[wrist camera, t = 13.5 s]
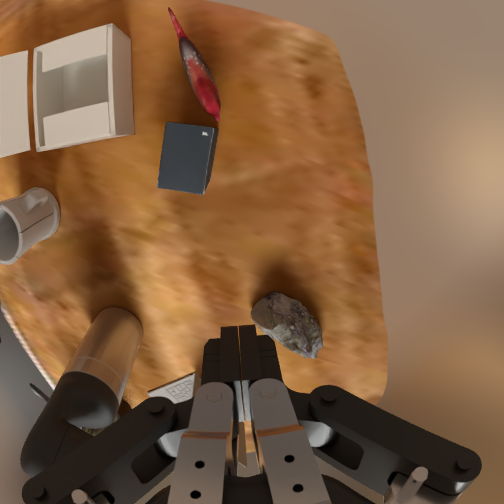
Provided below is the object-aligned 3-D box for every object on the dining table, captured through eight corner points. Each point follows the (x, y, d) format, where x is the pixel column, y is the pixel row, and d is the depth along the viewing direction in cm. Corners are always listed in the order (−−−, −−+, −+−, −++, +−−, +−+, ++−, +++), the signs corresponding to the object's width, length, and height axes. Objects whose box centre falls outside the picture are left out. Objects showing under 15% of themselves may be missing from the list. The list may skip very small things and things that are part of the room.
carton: (131, 39, 37) (111, 21, 29) (135, 134, 42) (114, 135, 34) (61, 57, 37) (32, 47, 28) (64, 147, 42) (34, 152, 33)
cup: (24, 172, 42) (-20, 186, 31) (66, 182, 44) (26, 198, 33) (19, 231, 46) (-20, 256, 35) (60, 243, 47) (24, 272, 36)
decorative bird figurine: (211, 128, 43) (206, 126, 34) (166, 25, 37) (151, 1, 28) (230, 120, 43) (230, 116, 33) (185, 17, 37) (174, -9, 27)
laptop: (147, 391, 60) (135, 439, 47) (196, 370, 58) (191, 421, 46) (198, 436, 66) (195, 482, 54) (244, 420, 64) (248, 468, 52)
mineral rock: (322, 339, 57) (337, 375, 48) (265, 355, 57) (272, 394, 48) (309, 279, 52) (325, 310, 43) (245, 297, 53) (249, 332, 43)
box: (179, 123, 42) (165, 120, 33) (219, 128, 43) (216, 127, 33) (171, 176, 45) (155, 189, 35) (210, 182, 46) (204, 196, 36)
